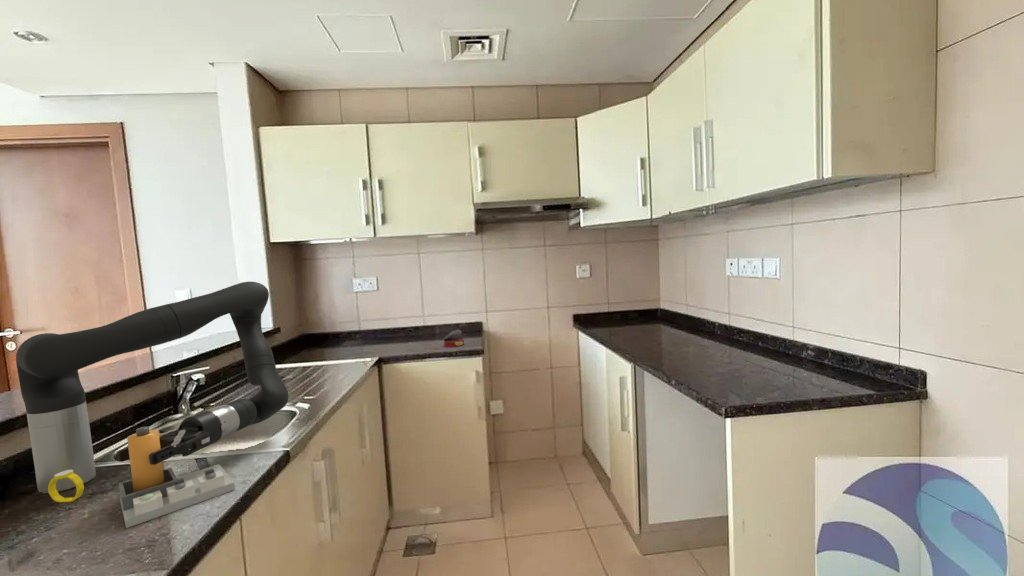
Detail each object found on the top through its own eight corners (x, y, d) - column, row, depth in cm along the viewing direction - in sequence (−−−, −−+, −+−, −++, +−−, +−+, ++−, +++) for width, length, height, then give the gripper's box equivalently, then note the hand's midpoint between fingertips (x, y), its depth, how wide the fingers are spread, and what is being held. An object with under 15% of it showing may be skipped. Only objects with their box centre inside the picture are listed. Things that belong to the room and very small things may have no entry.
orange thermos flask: (133, 494, 90) (125, 429, 89) (163, 484, 93) (156, 422, 92) (135, 502, 87) (127, 435, 86) (167, 492, 90) (159, 427, 89)
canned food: (448, 356, 225) (437, 340, 223) (449, 350, 235) (439, 334, 233) (468, 345, 225) (457, 328, 223) (468, 339, 235) (458, 323, 233)
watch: (47, 506, 91) (40, 478, 91) (60, 499, 94) (54, 471, 93) (77, 502, 91) (71, 474, 91) (89, 495, 94) (83, 467, 93)
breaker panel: (120, 502, 90) (117, 480, 90) (219, 470, 102) (217, 450, 102) (126, 528, 81) (122, 503, 81) (234, 489, 93) (232, 468, 92)
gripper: (184, 409, 105) (105, 437, 89) (233, 411, 101) (159, 441, 85) (188, 440, 105) (110, 474, 90) (237, 444, 101) (164, 480, 86)
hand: (134, 458), depth 87 cm, fingers open, 8 cm apart
